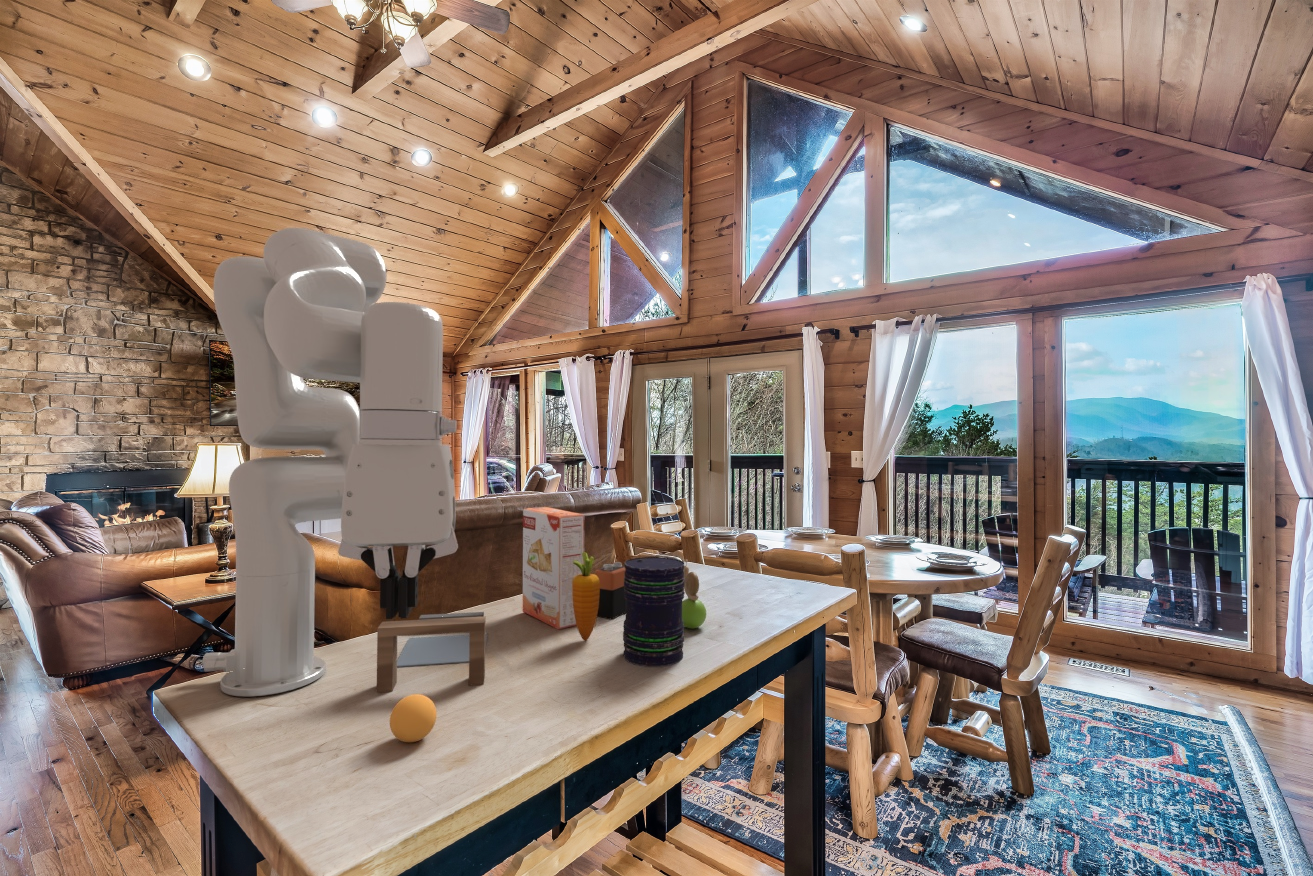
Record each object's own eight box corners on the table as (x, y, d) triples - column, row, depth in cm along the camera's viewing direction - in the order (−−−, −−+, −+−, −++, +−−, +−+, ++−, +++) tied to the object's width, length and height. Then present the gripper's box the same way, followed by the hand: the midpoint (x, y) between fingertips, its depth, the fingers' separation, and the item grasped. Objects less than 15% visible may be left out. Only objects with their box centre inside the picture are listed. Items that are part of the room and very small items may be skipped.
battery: (593, 616, 117) (594, 565, 117) (612, 608, 123) (613, 559, 123) (612, 620, 115) (612, 568, 115) (630, 611, 121) (631, 562, 121)
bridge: (483, 684, 84) (484, 622, 84) (376, 692, 81) (377, 628, 81) (484, 676, 87) (485, 616, 87) (381, 683, 84) (382, 621, 84)
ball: (385, 753, 66) (385, 707, 66) (394, 731, 71) (394, 689, 71) (433, 748, 67) (433, 703, 67) (438, 727, 72) (439, 685, 72)
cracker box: (520, 613, 119) (521, 508, 119) (546, 607, 123) (548, 506, 123) (556, 630, 108) (558, 515, 108) (584, 624, 112) (586, 513, 112)
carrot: (594, 646, 100) (595, 557, 100) (566, 644, 101) (567, 555, 101) (603, 637, 105) (604, 551, 105) (576, 635, 106) (577, 550, 106)
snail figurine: (696, 620, 115) (697, 558, 116) (711, 630, 110) (712, 565, 110) (670, 623, 114) (671, 560, 114) (684, 633, 108) (684, 567, 108)
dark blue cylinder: (695, 653, 98) (696, 561, 98) (662, 672, 90) (663, 572, 90) (645, 641, 103) (646, 554, 104) (610, 657, 95) (611, 563, 95)
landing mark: (393, 667, 90) (394, 666, 90) (409, 639, 103) (409, 638, 103) (483, 661, 93) (483, 660, 93) (487, 634, 106) (487, 633, 106)
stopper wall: (418, 632, 106) (419, 618, 106) (420, 628, 108) (420, 615, 108) (483, 628, 109) (483, 615, 109) (483, 625, 111) (483, 611, 111)
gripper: (482, 432, 65) (480, 601, 65) (329, 429, 62) (327, 608, 61) (478, 431, 58) (475, 622, 58) (304, 428, 54) (301, 631, 54)
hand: (399, 614), depth 60 cm, fingers closed
